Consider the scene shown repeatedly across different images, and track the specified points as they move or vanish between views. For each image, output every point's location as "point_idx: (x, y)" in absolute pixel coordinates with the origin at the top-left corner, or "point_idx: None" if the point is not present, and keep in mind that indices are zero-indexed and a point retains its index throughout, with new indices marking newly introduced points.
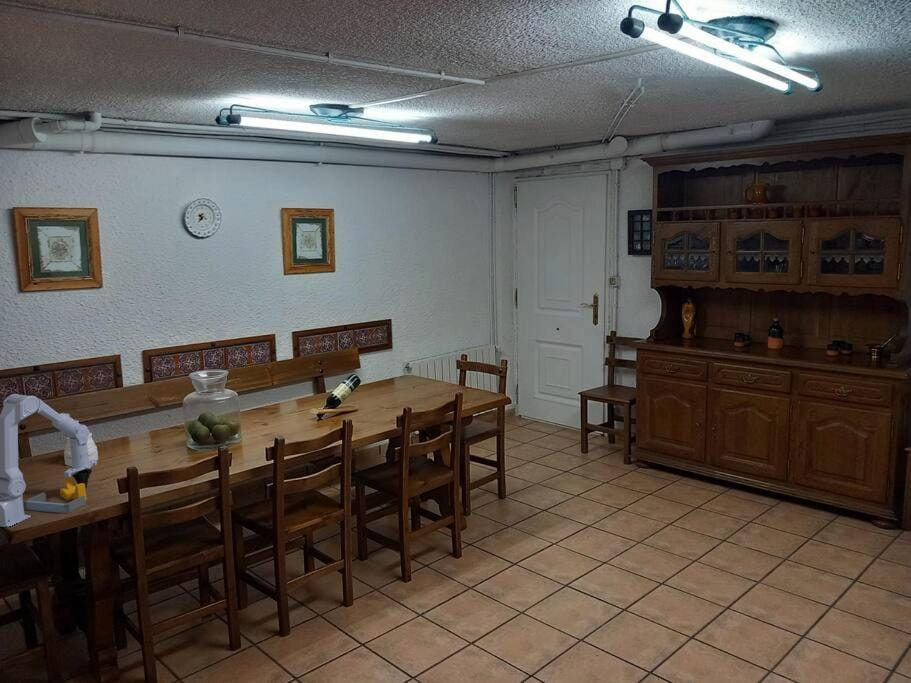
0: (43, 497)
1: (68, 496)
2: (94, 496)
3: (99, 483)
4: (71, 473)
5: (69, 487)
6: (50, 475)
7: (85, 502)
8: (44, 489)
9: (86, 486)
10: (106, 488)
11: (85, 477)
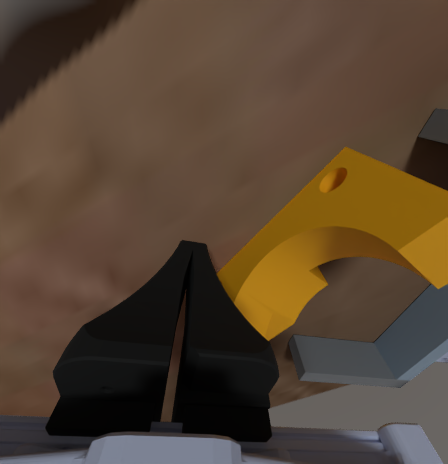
0: (313, 354)
1: (318, 272)
2: (273, 123)
3: (22, 227)
4: (353, 461)
5: (261, 320)
6: (43, 415)
7: (444, 109)
8: (170, 381)
9: (185, 246)
10: (88, 114)
11: (199, 305)
